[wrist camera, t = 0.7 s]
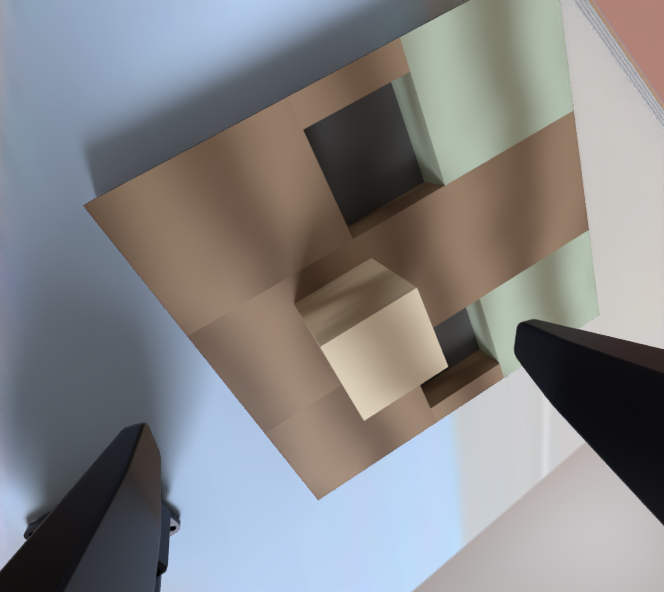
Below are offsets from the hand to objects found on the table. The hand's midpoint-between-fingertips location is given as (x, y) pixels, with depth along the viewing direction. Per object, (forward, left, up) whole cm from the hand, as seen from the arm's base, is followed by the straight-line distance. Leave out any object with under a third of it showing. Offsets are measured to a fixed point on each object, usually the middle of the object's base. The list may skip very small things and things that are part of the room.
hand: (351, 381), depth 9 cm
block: (+2, -6, -12) cm, 13 cm away
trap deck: (+6, -6, -14) cm, 17 cm away
